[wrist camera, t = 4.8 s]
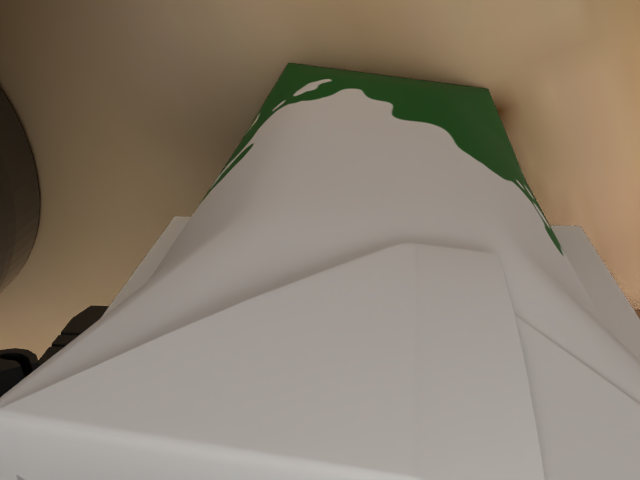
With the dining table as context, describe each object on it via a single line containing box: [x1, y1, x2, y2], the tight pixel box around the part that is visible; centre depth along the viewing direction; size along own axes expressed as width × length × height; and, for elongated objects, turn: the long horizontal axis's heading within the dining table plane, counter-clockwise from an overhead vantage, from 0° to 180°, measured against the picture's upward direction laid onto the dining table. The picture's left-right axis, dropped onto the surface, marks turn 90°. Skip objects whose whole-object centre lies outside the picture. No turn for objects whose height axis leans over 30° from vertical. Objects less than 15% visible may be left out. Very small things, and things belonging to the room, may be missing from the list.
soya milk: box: [0, 63, 640, 480], centre depth 14 cm, size 9×9×20 cm
